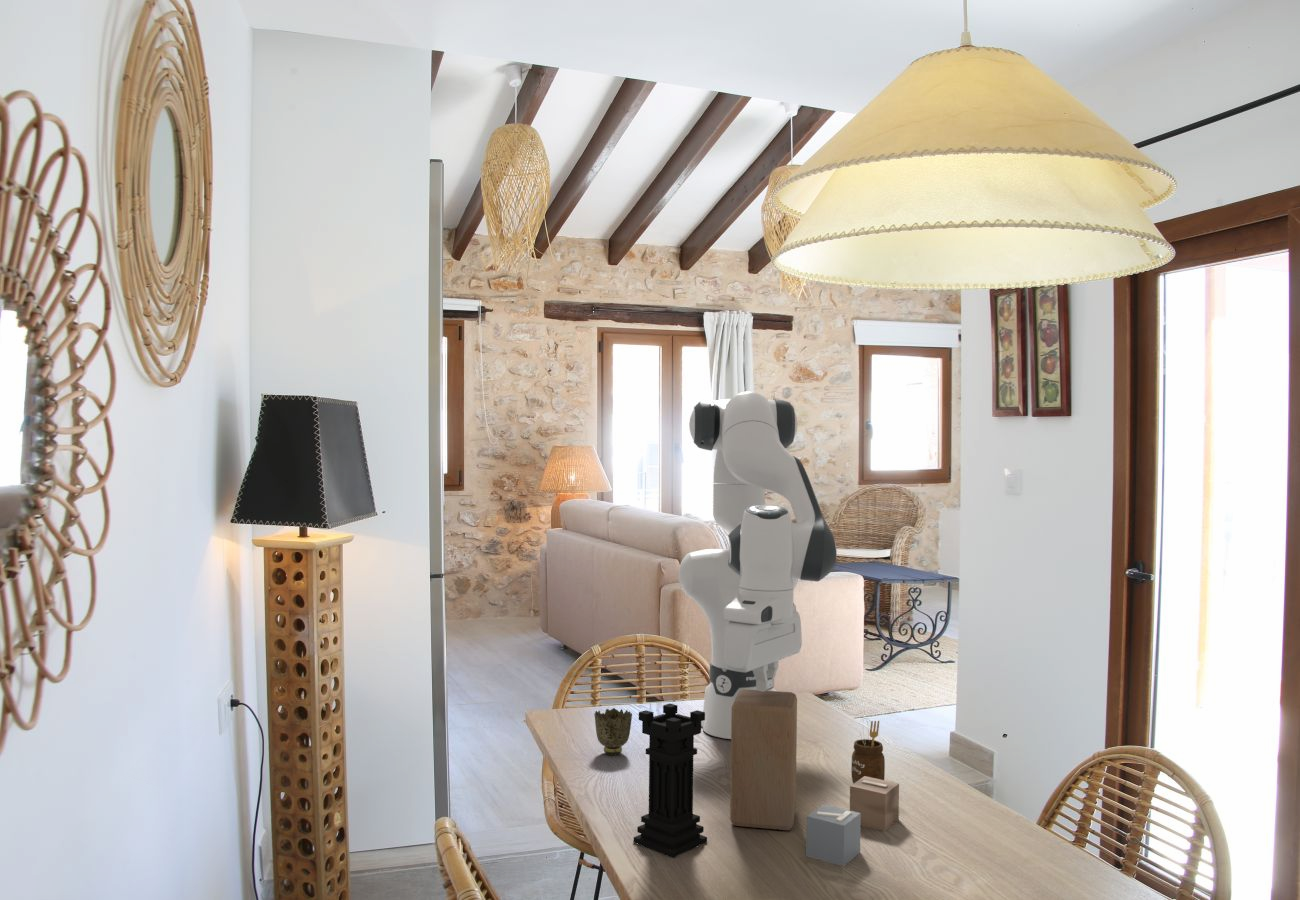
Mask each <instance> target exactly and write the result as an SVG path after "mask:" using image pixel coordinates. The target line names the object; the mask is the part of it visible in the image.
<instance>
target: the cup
mask: <svg viewBox="0 0 1300 900" xmlns="http://www.w3.org/2000/svg"><path fill="white" fill-rule="evenodd" d="M593 716H594V722H595V723H594V724H595V732H596V737H597V740H598V742H599V743H600V745H602V746H603V752H604V753H605V754H606V755H608V756H617V755H621V754H622V752H623V746H625V745H626V743H627V742H629V741H628V740H629V738H630V735H631V728H632V719H633V718H632V717H633V712H631V711H628V709H626V710H625V712H624V711H623V709H620V710H618V709H616V708H614V707H613V708H611V709H609V708H606V709H605V711H604V712H602V713H601V711H600V710H598V711H595V713H594V714H593Z"/></svg>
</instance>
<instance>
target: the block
mask: <svg viewBox="0 0 1300 900" xmlns="http://www.w3.org/2000/svg"><path fill="white" fill-rule="evenodd" d="M797 718H798V698H797V695H796V694H795V693H793V692H791V691H778V690H776V691H765V692H762V691H758V690H747V689H743V690H740V691H739V692H738V694H737V696H736V698H735V701H734V703H733V705H732V719H731V739H730V746H731V747H730V805H729V806H730V811H729V812H730V816H729V819H730V822H731V824H732V826H733V825H734V826H736V827H747V828H756V829H757V828H758V829H766V830H767V829H768V830H777V829H778V830H779V831H790V830H792V828H793V826H794V821H795V814H796V813H795V812H796V808H797V748H798V747H797V743H798V742H797V738H798V737H797V736H798V735H797V731H798V724H797V723H798V719H797ZM778 830H777V831H778Z"/></svg>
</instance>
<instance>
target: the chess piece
mask: <svg viewBox="0 0 1300 900" xmlns="http://www.w3.org/2000/svg"><path fill="white" fill-rule="evenodd" d="M689 713H690V715H689V716H687V715H684V714H680V713H679V714H678V704H673V703H667V704H663V706H662V714H659V715H655V716H654V711H651V710H647V709H646V710H645V709H644V710H642V711H639V712H638V721H641V723H642V725H641V726H642V727H641V728H642V729H641V733H642V734H644V735H648V736H649V738H648V739H649V746H648V747H647V748H645V755H648V758H649V759H648V760H649V761H648V813H647V814H644V815H641V816H640V822H641V823H644V824H641V825H639V826H637V827H636V829H637V830H636V831H637V833H638V835H636V836H633V843H634V842H635V843H634V844H636V843H638V844H639V846H641V845H642V846H641V847H643V846H644V847H643V848H646V849H648V848H649V849H650V850H652V851H654V852H656V853H659V854H660V855H661V854H662V855H664V856H667V857H668V858H672V859H674V858H676V857H679V856H680V855H682V854H685V853H687V852H688V851H691V850H693V849H695V848H697V846H698V847H700V846H702V845H704V844H706V842H707V843H708V837H707V836H705V835H702V833H704V825H703V826H702V825H700V824H697V823H700V822H701V816H700V815H698V814H694V813H693V812H694V756H695V755H698V748H696V747H694V744H695V743H694V736H696V735H699V734H702V726H701V721H704V720H705V712H703V711H702V710H696V709H695V710H694V711H691V712H689ZM638 844H637V845H638Z"/></svg>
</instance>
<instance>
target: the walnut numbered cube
mask: <svg viewBox="0 0 1300 900" xmlns="http://www.w3.org/2000/svg"><path fill="white" fill-rule="evenodd" d="M899 805H900V783H899V782H894V781H889V780H885V779H884V780H881V779H876V778H871V777H867V776H864V777H862V778H861V779H859V780H858V781H857V782H854V783H853V784H850V786H849V810H850V811H854V812H858V813H861V824H860V826H862V827H866V826H867V827H866V828H870V827H871V828H870V829H875V830H879V831H883V832H886V831H887V830H888V829H890V828H891V827H892V826H893V825H894V824H895V823H897V822H898V821H899V815H900V806H899Z"/></svg>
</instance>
